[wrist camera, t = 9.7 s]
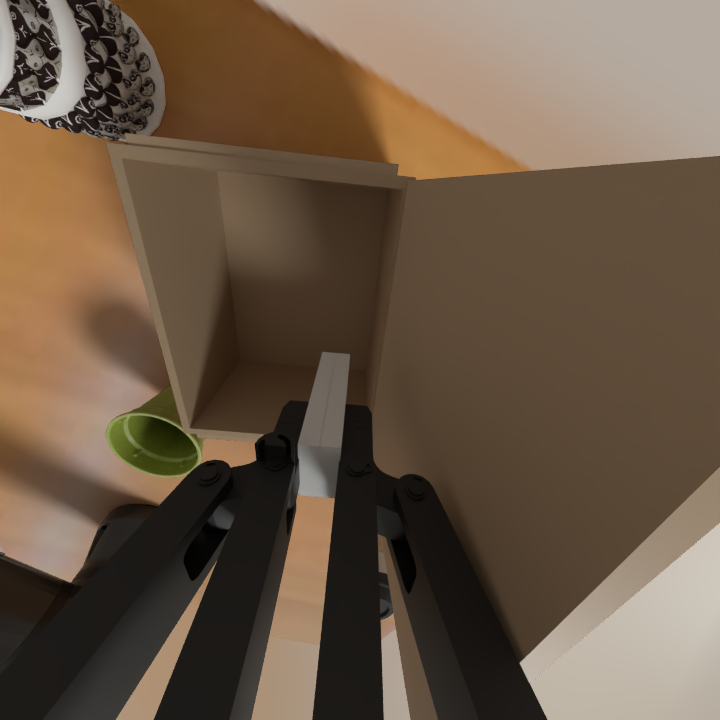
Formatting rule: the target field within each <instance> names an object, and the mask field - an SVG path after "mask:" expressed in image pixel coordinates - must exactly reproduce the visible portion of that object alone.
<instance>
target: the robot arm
mask: <svg viewBox="0 0 720 720" xmlns="http://www.w3.org/2000/svg"><path fill="white" fill-rule="evenodd" d="M349 362H350V354H342V353H331V352H322V355H321V359H320V363H319V366H318V370H317V374H316V378H315V381H314V385H313V389H312V393H311V396H310V400H309V402H307V401H294V400H290V401H289V402H288V403H287V404H286V405H285V406H284V407H283V408H282V411H281V413H280V417H279V419H278V421H277V424H276V426H275V429H274V432H271V433H268V434H265V435H263V436H262V437H260V438H259V439H258V440H257V442H256V443H255V451H256V459H257V460H256V461H254V462H252V463H250V464H246V465H242V466H237V467H232V468H230V466H229V464H228V463H226V462H224V461H221V460H211V461H206V462H204V463H202V464H200V465H198V466H197V467H196V468H194V469H193V470H192V471H191V472H190V473H189V474H188V475H187V476H186V477H185V478H184V479H183V481H182V482H181V483H180V484H179V485H178V486H177V487H176V488H175V489H174V490H173V491H172V492H171V493H170V494H169V496H168V497H167V498H166V499H165V500H164V501H163V502H162V503H161V504H160V505H159V506H158V507H157V508H156V507H152V506H146V505H126V506H121V507H118V508H116V509H114V510H112V511H111V512H110V513H109V514H108V516H107V517H106V518H105V520H104V521H103V522H102V523H101V525H100V526H99V528H98V530H97V533H96V535H95V538H94V540H93V543H92V545H91V547H90V550H89V552H88V555H87V557H86V560H85V562H84V565H83V567H82V568H81V570H80V571H79V573H78V574H77V575H76V577H75V578H74V579H73V581H72V582H71V583H70V582H67V581H65V580H62V579H60V578H58V577H55V576H53V575H50V574H48V573H46V572H43V571H41V570H39V569H36V568H34V567H31V566H29V565H27V564H24V563H22V562H19V561H17V560H15V559H12V558H10V557H8V556H5V553H3V552H0V720H116V718H117V717H118V715H119V713H120V712H121V710H122V709H123V707H124V705H125V704H126V702H127V701H128V699H129V698H130V695H132V693H133V691H134V690H135V688H136V687H137V685H138V684H139V682H140V680H141V679H142V677H143V676H144V674H145V672H146V671H147V669H148V668H149V666H150V665H151V663H152V662H153V660H154V658H155V657H156V655H157V654H158V652H159V651H160V649H161V647H162V646H163V644H164V643H165V641H166V639H167V638H168V636H169V635H170V633H171V632H172V630H173V628H174V627H175V625H176V624H177V622H178V621H179V619H180V617H181V616H182V614H183V613H184V611H185V610H186V608H187V606H188V605H189V603H190V602H191V600H192V599H193V597H194V595H195V594H196V592H197V591H198V589H199V588H200V586H201V584H202V583H203V581H204V580H205V578H206V577H207V575H208V573H209V572H210V570H211V569H212V567H213V566H214V564H215V562H216V561H217V562H216V565H215V567H214V570H213V572H212V575H211V577H210V580H209V582H208V585H207V587H206V590H205V592H204V595H203V597H202V600H201V602H200V605H199V608H198V610H197V613H196V615H195V618H194V620H193V623H192V625H191V628H190V630H189V633H188V635H187V638H186V640H185V643H184V645H183V648H182V650H181V653H180V655H179V658H178V660H177V663H176V665H175V668H174V670H173V673H172V676H171V678H170V680H169V683H168V685H167V688H166V690H165V693H164V695H163V698H162V700H161V703H160V705H159V708H158V711H157V713H156V716H155V718H154V720H251V718H252V713H253V708H254V703H255V699H256V694H257V690H258V685H259V680H260V676H261V671H262V666H263V662H264V657H265V652H266V648H267V643H268V639H269V634H270V629H271V625H272V620H273V615H274V611H275V606H276V601H277V597H278V592H279V587H280V583H281V578H282V573H283V569H284V564H285V559H286V555H287V550H288V546H289V541H290V536H291V532H292V527H293V522H294V518H295V513H296V499H297V494H298V490H299V495H300V496H314V497H328V498H335V504H334V513H333V523H332V533H331V543H330V553H329V562H328V572H327V582H326V592H325V601H324V611H323V621H322V631H321V641H320V650H319V660H318V670H317V680H316V691H315V699H314V710H313V719H312V720H384V717H383V684H382V653H381V622H380V590H379V559H378V534H379V535H381V536H384V537H386V540H387V544H388V547H389V551H390V554H391V558H392V561H393V565H394V568H395V572H396V575H397V579H398V582H399V586H400V589H401V593H402V596H403V600H404V603H405V606H406V610H407V613H408V617H409V620H410V624H411V627H412V631H413V634H414V638H415V641H416V645H417V648H418V652H419V655H420V659H421V662H422V666H423V669H424V673H425V676H426V679H427V683H428V686H429V690H430V693H431V697H432V700H433V704H434V707H435V711H436V714H437V718H438V720H547V718H546V716H545V714H544V712H543V710H542V708H541V706H540V704H539V702H538V700H537V698H536V696H535V694H534V692H533V690H532V687H531V685H530V683H529V681H528V679H527V677H526V675H525V673H524V671H523V669H522V667H521V665H520V663H519V661H518V659H517V657H516V655H515V653H514V651H513V649H512V647H511V645H510V643H509V641H508V638H507V636H506V634H505V632H504V630H503V628H502V626H501V624H500V622H499V620H498V618H497V616H496V614H495V612H494V610H493V608H492V606H491V604H490V602H489V600H488V598H487V596H486V594H485V592H484V590H483V587H482V585H481V583H480V581H479V579H478V577H477V575H476V573H475V571H474V569H473V567H472V565H471V563H470V561H469V559H468V557H467V555H466V553H465V551H464V549H463V547H462V545H461V543H460V541H459V539H458V536H457V534H456V532H455V530H454V528H453V526H452V524H451V522H450V520H449V518H448V516H447V514H446V512H445V510H444V508H443V506H442V504H441V502H440V500H439V498H438V496H437V494H436V492H435V490H434V488H433V486H432V485H431V483H430V482H429V481H428V480H426V479H425V478H424V477H422V476H419V475H417V474H406V475H403V476H402V477H400V478H399V479H398V478H395V477H393V476H390V475H388V474H386V473H384V472H382V471H381V470H380V469H379V468H378V467H377V466H376V464H375V462H374V458H373V431H372V413H371V411H370V409H369V408H368V406H364V405H352V404H346V397H347V386H348V374H349ZM217 559H218V560H217Z"/></svg>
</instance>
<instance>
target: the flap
mask: <svg viewBox="0 0 720 720" xmlns="http://www.w3.org/2000/svg"><path fill="white" fill-rule="evenodd" d="M372 431H373V458H374V462H375V464H376V466H377V467H378V468H379V469H380V470H381V471H382V472H384V473H386V474H388V475H390V476H393V477H395V478H398V479H399V478H400V477H402V476H403V475H406V474H417V475H419V476H422V477H424V478H425V479H426V480H428V481H429V482H430V483H431V485H432V486H433V488H434V490H435V492H436V494H437V496H438V498H439V500H440V502H441V504H442V506H443V508H444V510H445V512H446V514H447V516H448V518H449V520H450V522H451V524H452V526H453V528H454V530H455V532H456V534H457V536H458V539H459V541H460V543H461V545H462V547H463V549H464V551H465V553H466V555H467V557H468V559H469V561H470V563H471V565H472V567H473V569H474V571H475V573H476V575H477V577H478V579H479V581H480V583H481V585H482V587H483V590H484V592H485V594H486V596H487V598H488V600H489V602H490V604H491V606H492V608H493V610H494V612H495V614H496V616H497V618H498V620H499V622H500V624H501V626H502V628H503V630H504V632H505V634H506V636H507V638H508V641H509V643H510V645H511V647H512V649H513V651H514V653H515V655H516V657H517V659H518V661H519V663H520V665H521V667H522V669H523V671H524V673H525V675H526V677H527V679H528V681H529V683H531V682H532V681H533V680H534V679H536V678H537V677H538V676H539V675H540V674H541V673H543V672H544V671H545V670H546V669H547V668H549V667H550V666H551V665H552V664H553V663H555V662H556V661H557V660H558V659H559V658H560V657H562V656H563V655H564V654H565V653H566V652H568V651H569V650H570V649H571V648H572V647H573V646H575V645H576V644H577V643H578V642H579V641H581V640H582V639H583V638H584V637H585V636H586V635H587V634H589V633H590V632H591V631H592V630H594V629H595V628H596V627H597V626H598V625H599V624H601V623H602V622H603V621H604V620H605V619H606V618H608V617H609V616H610V615H611V614H612V613H614V612H615V611H616V610H617V609H618V608H619V607H621V606H622V605H623V604H624V603H625V602H626V601H628V600H629V599H630V598H631V597H632V596H634V594H636V593H637V592H638V591H640V590H641V589H642V588H643V587H644V586H645V585H646V584H648V583H649V582H650V581H651V580H653V579H654V578H655V577H656V576H657V575H658V574H660V573H661V572H662V571H663V570H664V569H665V568H667V567H668V566H669V565H670V564H671V563H673V562H674V561H675V560H676V559H677V558H679V557H680V556H681V555H682V554H683V553H684V552H686V551H687V550H688V549H689V548H690V547H692V546H693V545H694V544H695V543H696V542H697V541H699V540H700V539H701V538H702V537H703V536H704V535H706V534H707V533H708V532H709V531H710V530H711V529H713V528H714V527H715V526H716V525H718V524H719V523H720V156H715V157H702V158H690V159H677V160H665V161H652V162H640V163H628V164H614V165H601V166H589V167H576V168H564V169H552V170H538V171H526V172H513V173H501V174H488V175H475V176H463V177H450V178H437V179H425V180H412V181H408V184H407V191H406V197H405V204H404V211H403V217H402V224H401V230H400V237H399V244H398V250H397V257H396V264H395V270H394V277H393V283H392V290H391V297H390V303H389V310H388V316H387V323H386V330H385V336H384V343H383V349H382V356H381V363H380V369H379V376H378V383H377V389H376V396H375V402H374V409H373V416H372ZM381 538H382V544H383V550H384V556H385V563H386V569H387V575H388V581H389V588H390V594H391V600H392V606H393V613H394V619H395V625H396V631H397V637H398V643H399V650H400V656H401V662H402V669H403V675H404V681H405V688H406V694H407V700H408V706H409V712H410V719H411V720H438V718H437V714H436V711H435V707H434V704H433V700H432V697H431V693H430V690H429V686H428V683H427V679H426V676H425V673H424V669H423V666H422V662H421V659H420V655H419V652H418V648H417V645H416V641H415V638H414V634H413V631H412V627H411V624H410V620H409V617H408V613H407V610H406V606H405V603H404V600H403V596H402V593H401V589H400V586H399V582H398V579H397V575H396V572H395V568H394V565H393V561H392V558H391V554H390V551H389V547H388V544H387V540H386V537H384V536H381Z"/></svg>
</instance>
